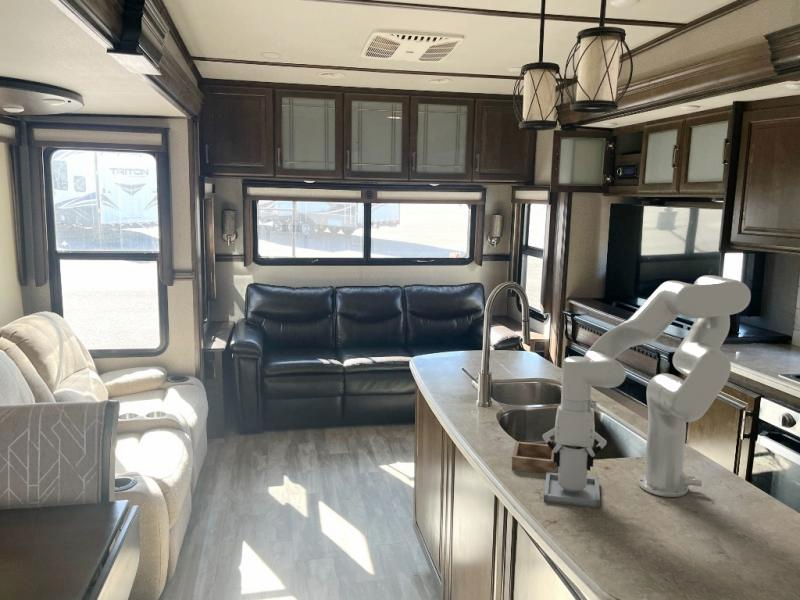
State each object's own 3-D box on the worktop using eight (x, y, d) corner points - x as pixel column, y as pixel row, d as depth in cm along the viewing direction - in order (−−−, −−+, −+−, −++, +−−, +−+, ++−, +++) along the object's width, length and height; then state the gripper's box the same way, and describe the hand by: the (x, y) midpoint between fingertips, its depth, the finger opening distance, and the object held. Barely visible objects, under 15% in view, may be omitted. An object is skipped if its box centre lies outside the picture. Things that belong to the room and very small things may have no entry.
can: (587, 494, 162) (589, 451, 160) (558, 491, 164) (560, 448, 162) (585, 481, 170) (587, 440, 168) (557, 479, 171) (558, 438, 169)
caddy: (555, 457, 189) (555, 445, 189) (554, 474, 178) (554, 461, 177) (515, 453, 193) (516, 441, 192) (511, 469, 181) (512, 456, 181)
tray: (598, 484, 172) (598, 478, 172) (599, 508, 159) (600, 501, 158) (546, 478, 176) (546, 472, 175) (543, 501, 162) (543, 494, 162)
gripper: (609, 402, 164) (606, 464, 167) (542, 396, 169) (540, 457, 172) (611, 411, 157) (607, 476, 160) (541, 405, 162) (538, 469, 165)
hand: (572, 466), depth 166 cm, fingers closed on can, 7 cm apart
